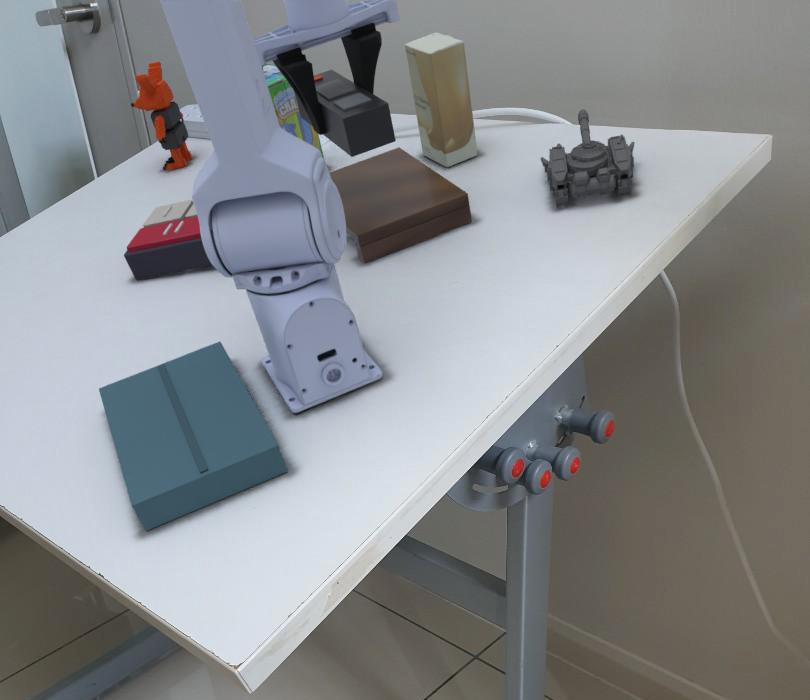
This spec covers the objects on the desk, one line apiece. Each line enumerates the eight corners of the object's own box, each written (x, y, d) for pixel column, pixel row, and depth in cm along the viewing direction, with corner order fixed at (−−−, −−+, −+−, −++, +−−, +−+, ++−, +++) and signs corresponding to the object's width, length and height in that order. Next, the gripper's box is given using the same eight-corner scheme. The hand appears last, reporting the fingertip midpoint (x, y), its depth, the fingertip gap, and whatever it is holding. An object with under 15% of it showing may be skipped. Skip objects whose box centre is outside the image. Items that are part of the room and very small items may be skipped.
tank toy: (541, 166, 94) (536, 116, 91) (631, 151, 93) (630, 99, 89) (545, 214, 86) (540, 161, 82) (644, 198, 84) (643, 144, 81)
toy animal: (165, 155, 123) (131, 63, 115) (201, 150, 122) (168, 57, 114) (145, 179, 118) (107, 84, 109) (182, 173, 116) (146, 77, 108)
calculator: (152, 204, 99) (273, 177, 96) (168, 239, 102) (286, 215, 98) (118, 249, 92) (249, 222, 88) (137, 286, 95) (264, 261, 91)
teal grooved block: (288, 471, 64) (277, 443, 62) (146, 531, 62) (130, 504, 60) (229, 365, 77) (219, 339, 75) (110, 412, 75) (97, 386, 73)
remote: (396, 141, 81) (387, 100, 78) (351, 157, 80) (342, 116, 78) (339, 103, 92) (331, 67, 90) (300, 117, 92) (291, 81, 89)
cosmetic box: (421, 155, 104) (401, 43, 95) (453, 143, 105) (435, 30, 96) (448, 169, 99) (428, 52, 91) (480, 155, 100) (464, 38, 92)
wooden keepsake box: (472, 222, 88) (468, 193, 86) (364, 264, 86) (357, 235, 84) (404, 173, 101) (399, 146, 99) (309, 208, 99) (301, 182, 97)
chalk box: (229, 188, 109) (186, 59, 99) (287, 158, 112) (250, 31, 102) (271, 200, 103) (229, 65, 93) (330, 169, 106) (296, 35, 96)
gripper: (366, -64, 81) (395, 91, 90) (219, -17, 79) (265, 137, 88) (394, -58, 76) (422, 106, 85) (238, -8, 73) (285, 155, 83)
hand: (344, 123), depth 86 cm, fingers closed on remote, 4 cm apart
